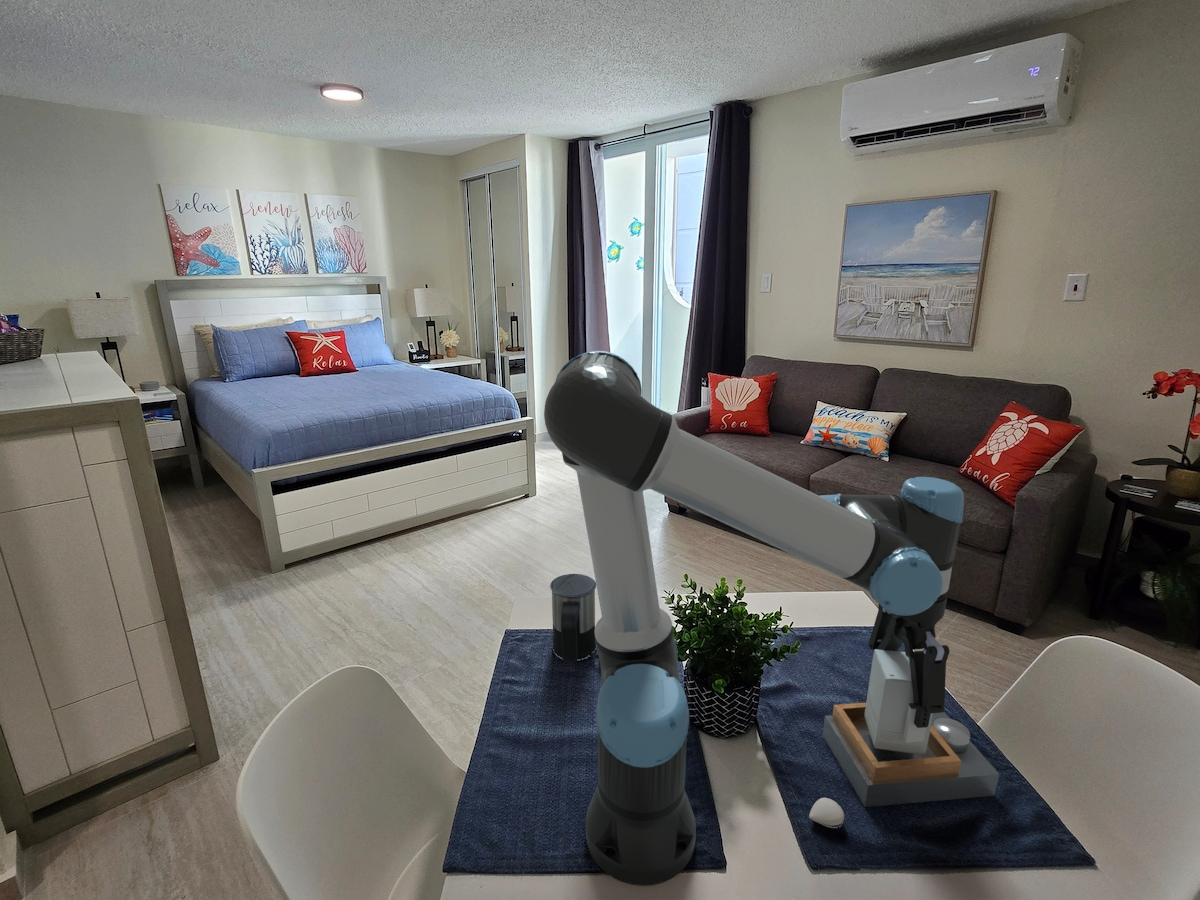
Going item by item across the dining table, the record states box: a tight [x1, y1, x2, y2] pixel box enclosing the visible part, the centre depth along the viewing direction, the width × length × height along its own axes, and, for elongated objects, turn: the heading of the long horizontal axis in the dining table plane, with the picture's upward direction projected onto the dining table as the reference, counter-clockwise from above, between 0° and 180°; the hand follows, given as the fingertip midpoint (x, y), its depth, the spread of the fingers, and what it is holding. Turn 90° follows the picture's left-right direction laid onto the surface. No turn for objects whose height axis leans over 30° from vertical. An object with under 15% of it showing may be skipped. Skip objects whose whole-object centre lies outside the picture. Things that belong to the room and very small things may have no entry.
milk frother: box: [549, 573, 599, 664], centre depth 122 cm, size 14×16×15 cm
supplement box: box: [864, 649, 933, 754], centre depth 93 cm, size 7×7×13 cm
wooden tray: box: [821, 702, 1000, 808], centre depth 96 cm, size 20×14×6 cm
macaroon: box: [808, 797, 845, 829], centre depth 87 cm, size 4×5×2 cm
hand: (896, 717), depth 94 cm, fingers closed on supplement box, 8 cm apart
